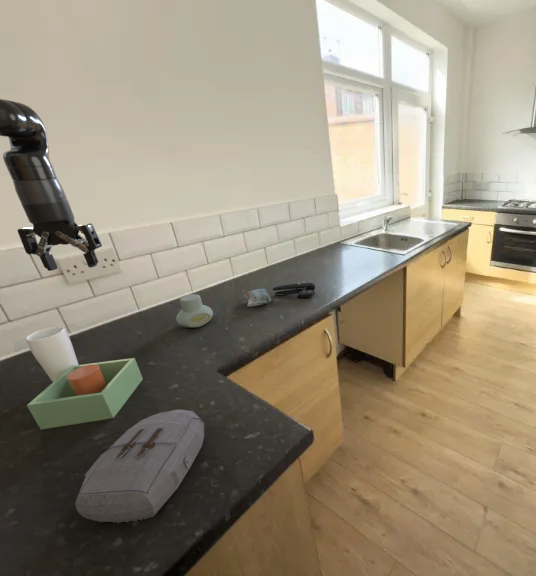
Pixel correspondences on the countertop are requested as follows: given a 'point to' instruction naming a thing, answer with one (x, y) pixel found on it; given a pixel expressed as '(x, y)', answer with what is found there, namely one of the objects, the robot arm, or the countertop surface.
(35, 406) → the box
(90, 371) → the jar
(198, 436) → the small grey backpack
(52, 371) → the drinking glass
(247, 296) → the packaged food
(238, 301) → the countertop surface
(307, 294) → the can opener
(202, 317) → the air freshener
